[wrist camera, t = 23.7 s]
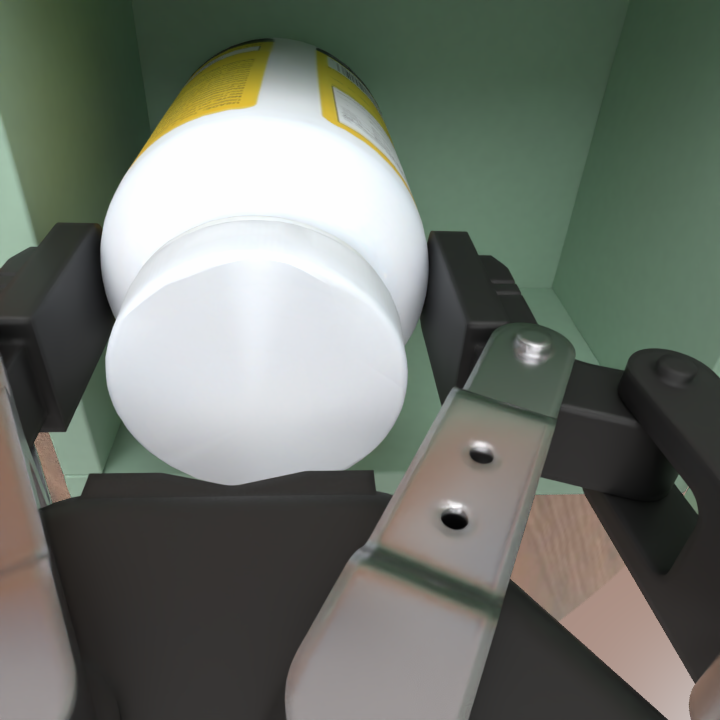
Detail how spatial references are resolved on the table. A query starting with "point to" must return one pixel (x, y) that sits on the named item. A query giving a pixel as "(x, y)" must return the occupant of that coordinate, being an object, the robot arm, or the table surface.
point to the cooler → (415, 158)
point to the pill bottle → (263, 271)
